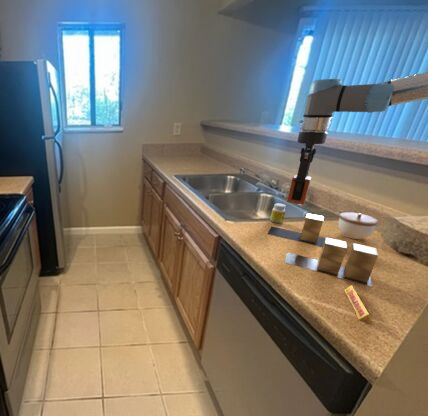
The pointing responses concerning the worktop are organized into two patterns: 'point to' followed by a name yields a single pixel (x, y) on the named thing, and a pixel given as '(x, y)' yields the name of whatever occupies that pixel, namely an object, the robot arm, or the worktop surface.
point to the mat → (293, 236)
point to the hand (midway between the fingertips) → (296, 197)
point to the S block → (303, 191)
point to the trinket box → (356, 225)
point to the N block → (360, 262)
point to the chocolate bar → (357, 305)
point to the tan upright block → (332, 255)
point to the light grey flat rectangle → (313, 264)
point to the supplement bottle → (278, 214)
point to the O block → (311, 228)
